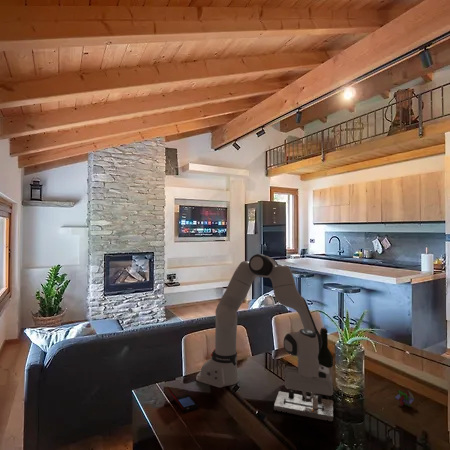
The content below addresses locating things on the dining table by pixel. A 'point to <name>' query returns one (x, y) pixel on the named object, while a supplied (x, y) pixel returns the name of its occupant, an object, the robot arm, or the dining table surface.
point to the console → (304, 406)
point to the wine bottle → (325, 352)
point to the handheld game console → (185, 402)
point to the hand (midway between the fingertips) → (308, 401)
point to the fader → (315, 402)
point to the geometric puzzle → (405, 398)
